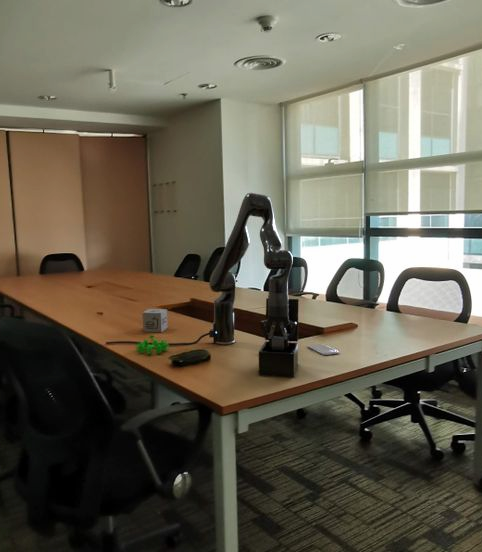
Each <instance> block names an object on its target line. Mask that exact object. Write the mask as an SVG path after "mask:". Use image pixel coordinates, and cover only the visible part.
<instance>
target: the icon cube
mask: <svg viewBox="0 0 482 552" xmlns="http://www.w3.org/2000/svg"><path fill="white" fill-rule="evenodd" d="M167 329H168V309H163V308H162V309H161V308H159V309H158V308H148V309H146V310H145V311H143V312H142V332H143V333H144V332H145V333H163V332H164V331H165V330H167Z"/></svg>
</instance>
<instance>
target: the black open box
mask: <svg viewBox="0 0 482 552" xmlns="http://www.w3.org/2000/svg"><path fill="white" fill-rule="evenodd" d="M298 365H299V342H293V341H288V347H287V348H286V349H284V351H278V350H272V349H271V347H269V340H264V343H262V346H261V347H260V349H259V351H258V376H261V377H262V376H264V377H279V378H295V375H296V371H297V369H298Z"/></svg>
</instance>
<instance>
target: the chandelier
mask: <svg viewBox="0 0 482 552" xmlns="http://www.w3.org/2000/svg"><path fill="white" fill-rule="evenodd" d="M149 338H151V343H152V345H150V344H149V342H150V341H149V340H148V339H144V340H143V341H137V342H138V343H139V344H135V348H136V351H137V353H138V354H141V355H142V354H144V353H145V352H146V354H147V355H149V356H150V355H151V354H152V351H153V350H152V349H153V348H154V349H155V352H156V354H157V355H160V354H161V353H162V352H164V353H165V352H168V350H170V349H169V348H170V345H168V343H169V342H167V340H166V339H161V340H160V341H159V342H158V339H157V338H155V335H154V334H151V335H149ZM153 339H154V340H153ZM143 342H144V343H143ZM158 343H159V344H160V345H159V344H158ZM165 343H166V344H165Z"/></svg>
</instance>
